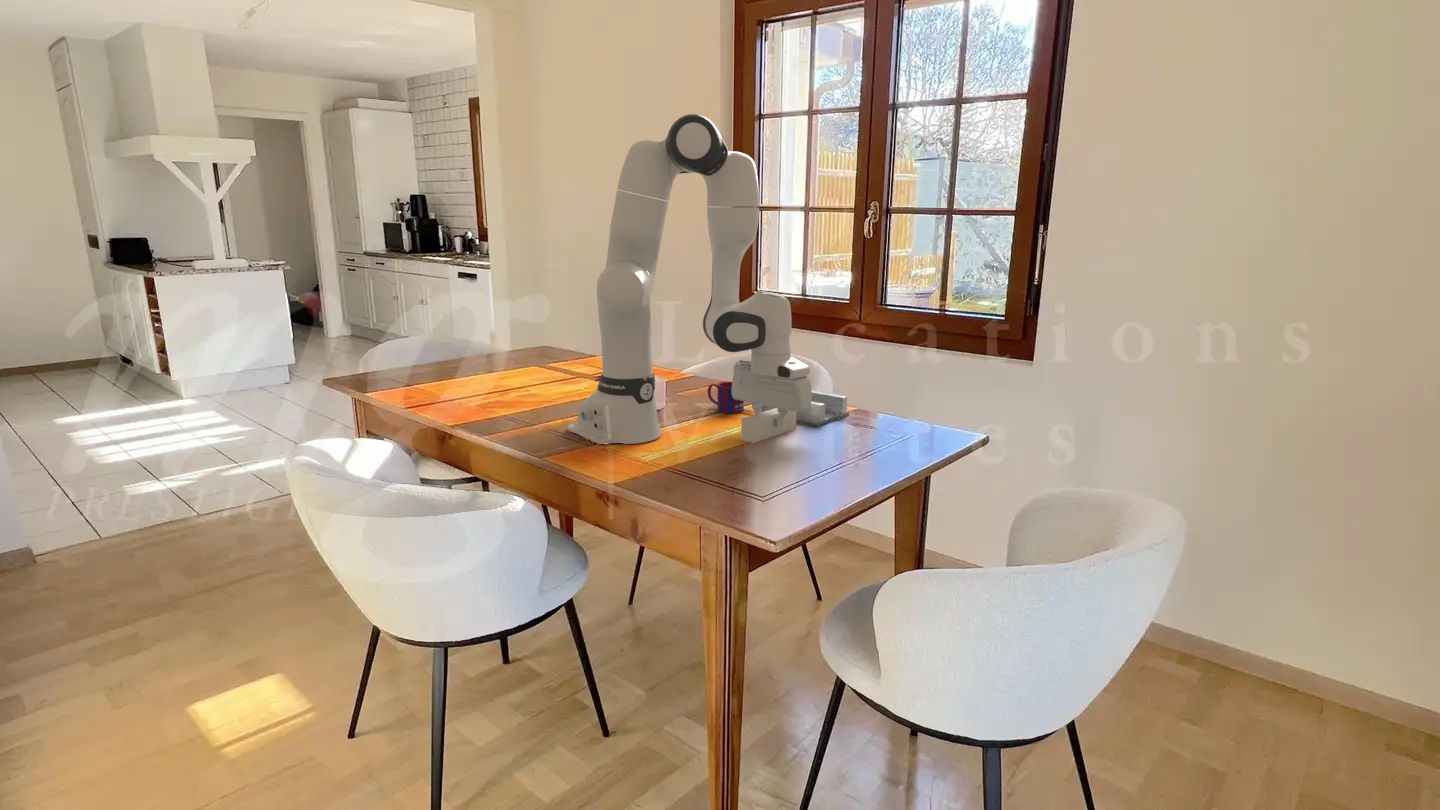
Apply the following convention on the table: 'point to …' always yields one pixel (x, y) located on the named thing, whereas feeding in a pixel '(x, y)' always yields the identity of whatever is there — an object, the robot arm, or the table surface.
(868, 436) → the table surface
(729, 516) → the table surface
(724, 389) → the mug
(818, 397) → the grey channel stand
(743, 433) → the clay strip
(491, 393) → the table surface
